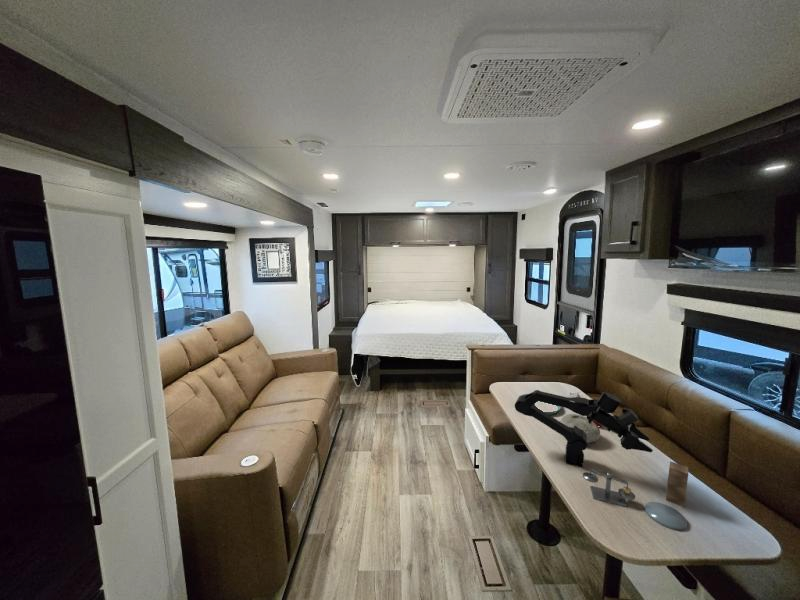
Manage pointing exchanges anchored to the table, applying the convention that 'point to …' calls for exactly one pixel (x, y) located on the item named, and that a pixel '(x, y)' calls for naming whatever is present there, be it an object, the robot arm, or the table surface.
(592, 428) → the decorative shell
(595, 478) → the balance
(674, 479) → the walnut block
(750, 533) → the table surface
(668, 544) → the table surface
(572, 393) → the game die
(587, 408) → the robot arm
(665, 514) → the slate dish
